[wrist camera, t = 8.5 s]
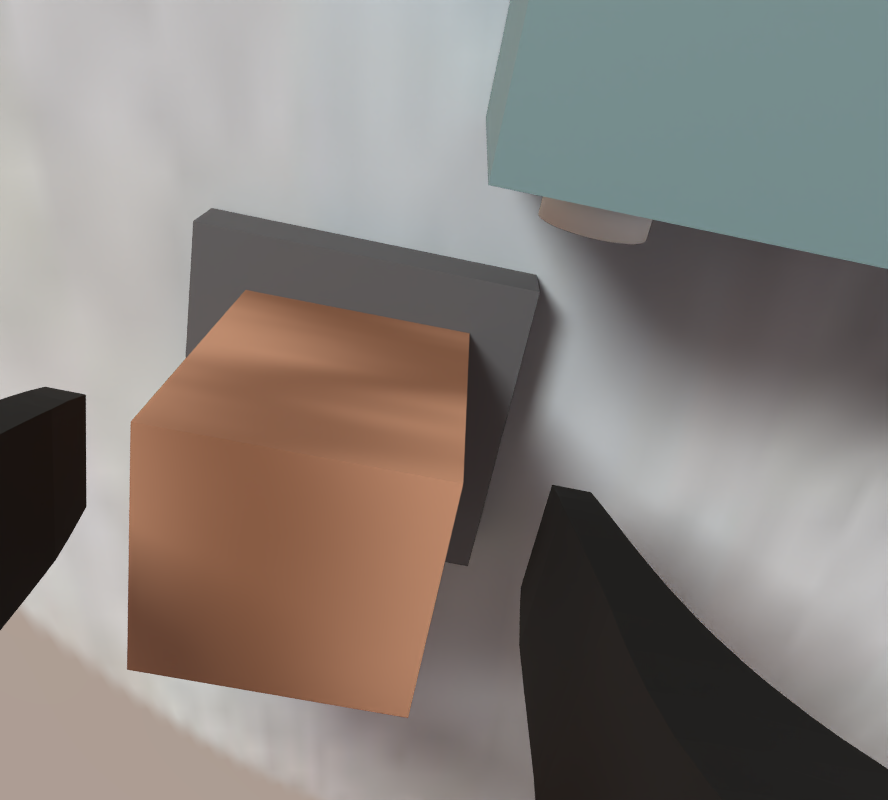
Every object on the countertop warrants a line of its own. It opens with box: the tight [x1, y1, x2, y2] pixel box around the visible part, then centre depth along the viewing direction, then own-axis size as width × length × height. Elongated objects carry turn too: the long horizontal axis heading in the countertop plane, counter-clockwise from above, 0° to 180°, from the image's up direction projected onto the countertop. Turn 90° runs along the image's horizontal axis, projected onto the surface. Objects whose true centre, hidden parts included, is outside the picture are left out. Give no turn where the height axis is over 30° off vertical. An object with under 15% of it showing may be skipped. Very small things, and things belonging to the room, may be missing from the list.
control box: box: [486, 0, 888, 269], centre depth 10 cm, size 6×5×6 cm
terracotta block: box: [127, 290, 470, 718], centre depth 12 cm, size 4×4×5 cm
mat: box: [186, 208, 540, 566], centre depth 15 cm, size 6×6×1 cm
